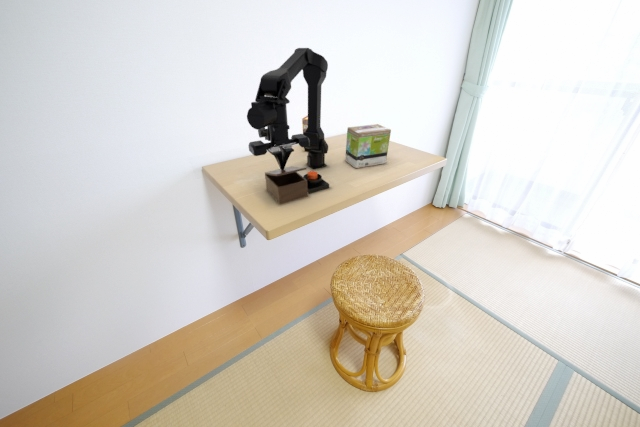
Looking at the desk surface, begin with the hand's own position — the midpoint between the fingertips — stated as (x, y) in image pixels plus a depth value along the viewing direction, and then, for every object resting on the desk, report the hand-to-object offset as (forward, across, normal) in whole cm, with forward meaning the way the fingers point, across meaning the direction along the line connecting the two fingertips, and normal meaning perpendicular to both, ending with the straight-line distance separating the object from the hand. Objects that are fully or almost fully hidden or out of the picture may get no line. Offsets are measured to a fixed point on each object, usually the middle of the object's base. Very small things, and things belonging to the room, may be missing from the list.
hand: (282, 169), depth 87 cm
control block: (+8, -11, +2) cm, 13 cm away
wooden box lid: (0, 0, +2) cm, 2 cm away
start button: (+5, -11, +2) cm, 12 cm away
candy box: (+8, -29, -34) cm, 45 cm away
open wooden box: (+8, 0, +2) cm, 8 cm away
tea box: (+8, -41, -6) cm, 42 cm away
